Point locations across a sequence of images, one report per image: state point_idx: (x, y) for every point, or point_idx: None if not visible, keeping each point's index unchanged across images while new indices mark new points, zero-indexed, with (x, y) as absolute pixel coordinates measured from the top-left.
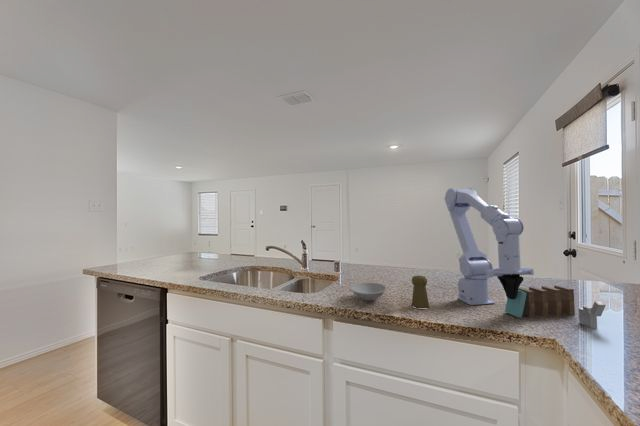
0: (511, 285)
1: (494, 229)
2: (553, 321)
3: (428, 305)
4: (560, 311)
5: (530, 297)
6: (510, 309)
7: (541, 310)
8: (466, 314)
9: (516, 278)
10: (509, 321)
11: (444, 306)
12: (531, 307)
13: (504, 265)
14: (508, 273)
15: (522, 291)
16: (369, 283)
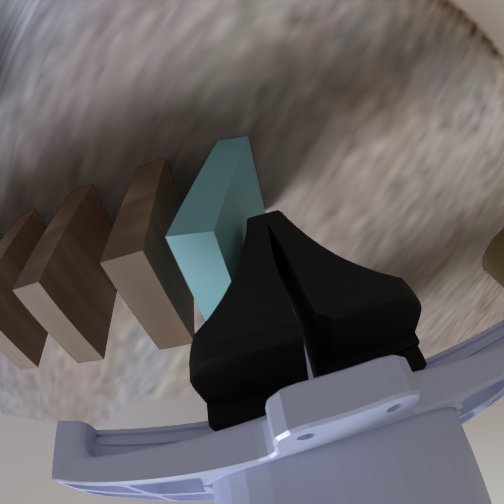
0: (332, 264)
1: None
2: (75, 116)
3: (500, 244)
4: (13, 224)
5: (138, 222)
6: (256, 198)
7: (88, 207)
8: (440, 180)
9: (300, 337)
10: (315, 85)
11: (448, 261)
12: (146, 185)
13: (479, 471)
14: (448, 365)
15: (190, 261)
16: None
